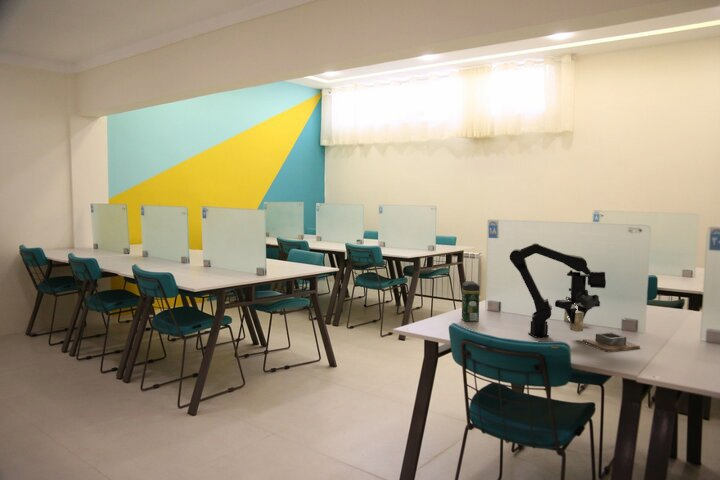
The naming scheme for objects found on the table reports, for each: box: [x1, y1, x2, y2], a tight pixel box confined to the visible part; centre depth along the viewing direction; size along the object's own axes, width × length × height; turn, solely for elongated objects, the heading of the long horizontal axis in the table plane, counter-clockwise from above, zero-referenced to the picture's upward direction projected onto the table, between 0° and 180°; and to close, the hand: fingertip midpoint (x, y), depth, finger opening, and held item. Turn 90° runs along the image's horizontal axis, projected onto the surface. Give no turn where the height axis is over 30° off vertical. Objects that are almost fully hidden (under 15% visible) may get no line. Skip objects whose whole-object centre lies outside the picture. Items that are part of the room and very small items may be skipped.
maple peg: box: [569, 311, 585, 333], centre depth 228 cm, size 4×4×8 cm
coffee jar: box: [461, 280, 481, 323], centre depth 260 cm, size 10×8×19 cm
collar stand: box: [581, 331, 641, 353], centre depth 219 cm, size 16×14×4 cm
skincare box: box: [563, 295, 570, 322], centre depth 259 cm, size 6×4×12 cm
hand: (576, 323), depth 228 cm, fingers closed on maple peg, 4 cm apart
